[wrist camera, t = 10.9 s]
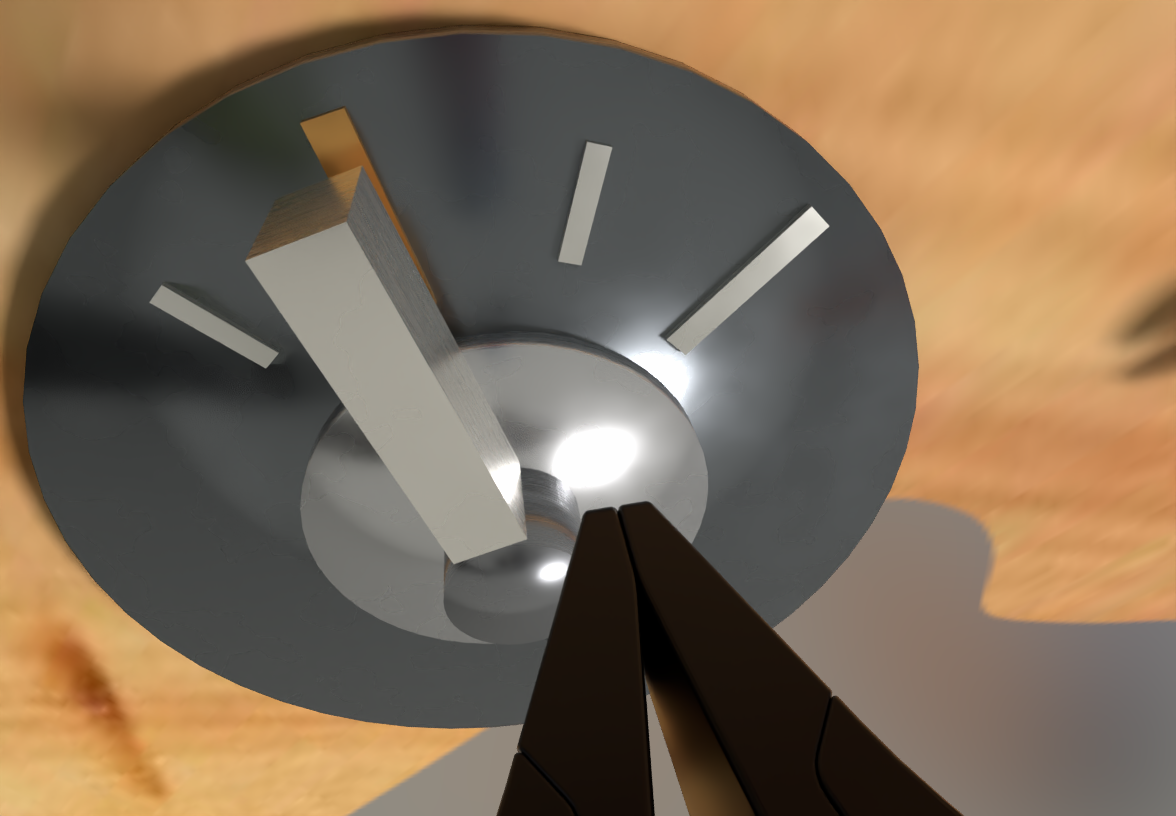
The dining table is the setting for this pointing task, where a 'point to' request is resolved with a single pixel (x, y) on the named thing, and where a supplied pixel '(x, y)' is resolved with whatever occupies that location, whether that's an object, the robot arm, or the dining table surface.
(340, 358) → the dial
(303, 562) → the dial plate
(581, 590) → the robot arm
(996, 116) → the dining table surface
